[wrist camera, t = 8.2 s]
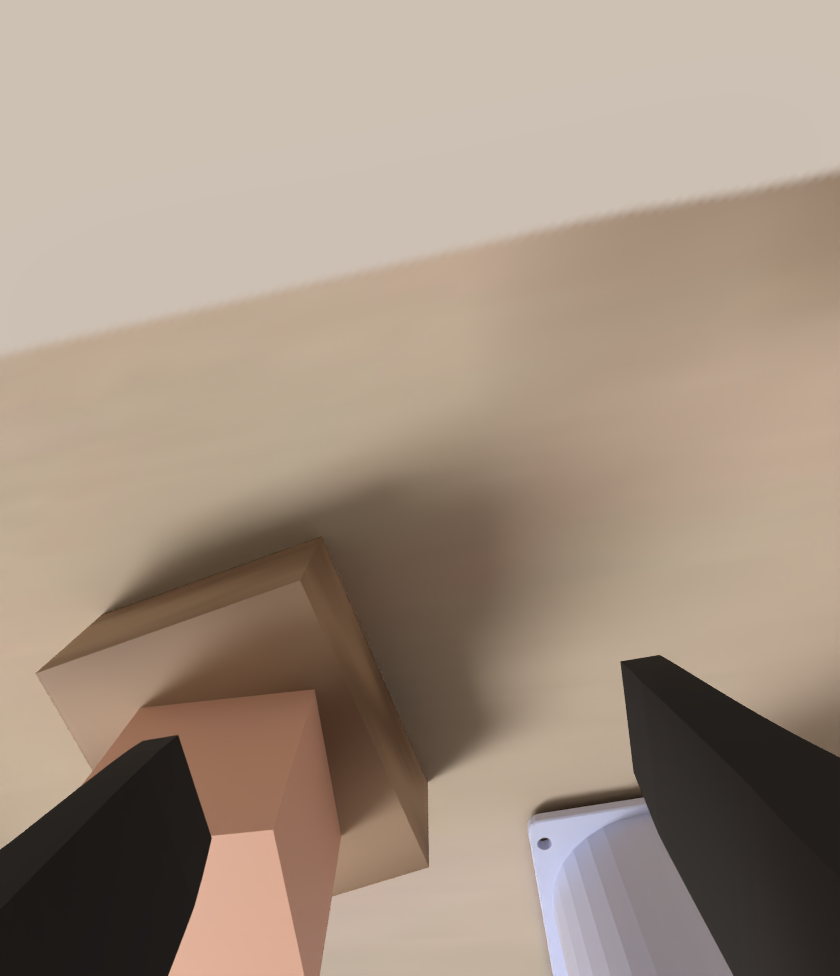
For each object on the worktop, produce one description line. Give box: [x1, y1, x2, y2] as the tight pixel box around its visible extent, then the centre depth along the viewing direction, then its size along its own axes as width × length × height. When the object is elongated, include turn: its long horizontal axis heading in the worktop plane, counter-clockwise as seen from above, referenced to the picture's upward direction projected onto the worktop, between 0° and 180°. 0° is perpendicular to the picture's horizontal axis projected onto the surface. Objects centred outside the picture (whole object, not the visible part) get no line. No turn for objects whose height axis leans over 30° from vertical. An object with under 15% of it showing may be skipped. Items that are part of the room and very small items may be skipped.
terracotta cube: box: [83, 689, 341, 976], centre depth 15 cm, size 5×5×5 cm
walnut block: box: [36, 537, 429, 896], centre depth 20 cm, size 10×8×4 cm
